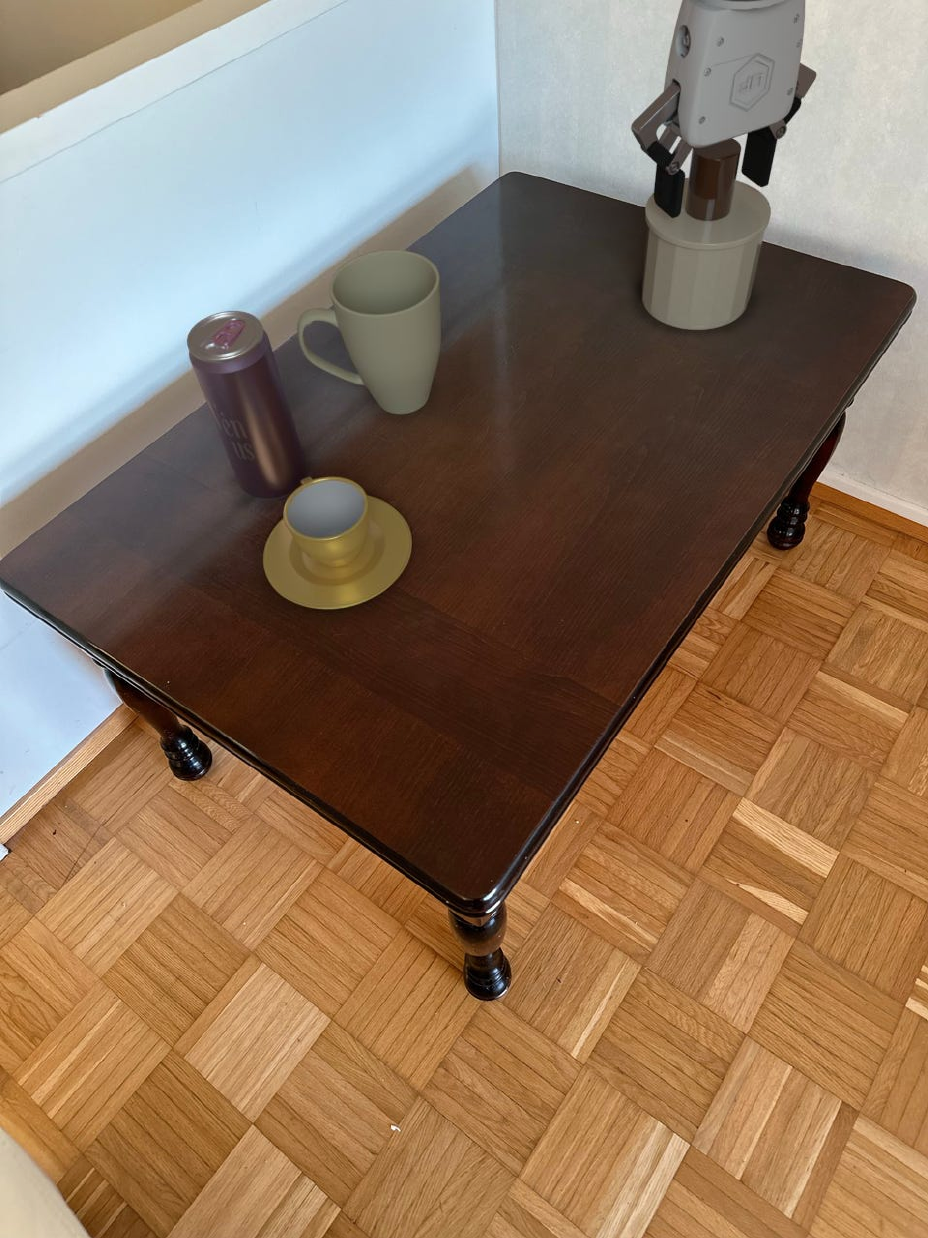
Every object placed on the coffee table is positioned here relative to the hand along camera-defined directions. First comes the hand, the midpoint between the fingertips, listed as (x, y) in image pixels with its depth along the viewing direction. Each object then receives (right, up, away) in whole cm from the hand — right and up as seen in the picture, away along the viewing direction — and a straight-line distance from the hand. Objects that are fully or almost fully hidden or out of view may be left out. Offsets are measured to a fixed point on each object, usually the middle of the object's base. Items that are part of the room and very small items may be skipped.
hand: (711, 194), depth 80 cm
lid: (0, -1, +2) cm, 2 cm away
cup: (-32, -32, -7) cm, 46 cm away
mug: (-28, -18, +3) cm, 34 cm away
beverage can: (-38, -25, -2) cm, 46 cm away
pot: (+1, -6, +9) cm, 10 cm away
